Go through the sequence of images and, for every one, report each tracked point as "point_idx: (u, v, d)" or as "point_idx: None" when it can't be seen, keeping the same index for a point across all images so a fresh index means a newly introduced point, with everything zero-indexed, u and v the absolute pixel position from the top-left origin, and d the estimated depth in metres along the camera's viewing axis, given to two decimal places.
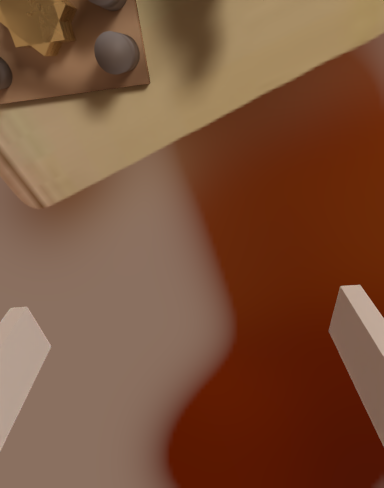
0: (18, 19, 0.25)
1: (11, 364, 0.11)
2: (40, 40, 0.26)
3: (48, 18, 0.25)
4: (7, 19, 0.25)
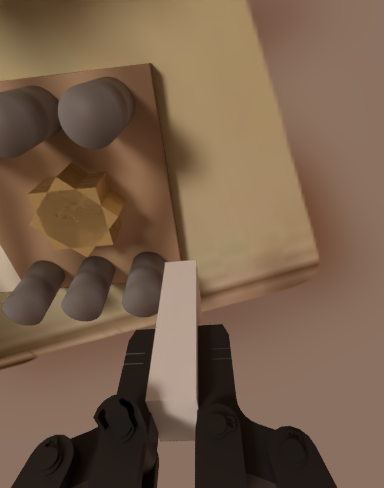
0: (84, 233, 0.22)
1: None
2: (101, 216, 0.21)
3: (76, 201, 0.20)
4: (87, 244, 0.22)
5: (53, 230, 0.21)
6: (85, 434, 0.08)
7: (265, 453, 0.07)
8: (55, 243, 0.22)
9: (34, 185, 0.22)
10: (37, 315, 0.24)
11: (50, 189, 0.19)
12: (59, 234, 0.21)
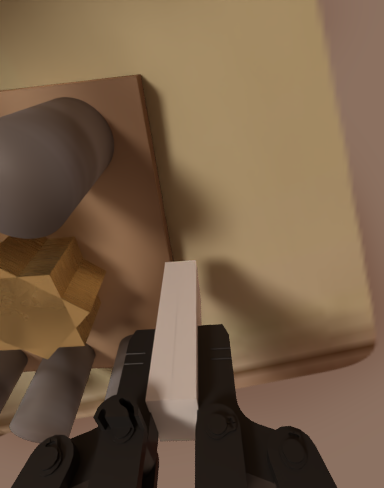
0: (39, 332, 0.14)
1: None
2: (64, 312, 0.13)
3: (20, 293, 0.13)
4: (45, 344, 0.15)
5: None
6: (85, 434, 0.08)
7: (265, 453, 0.07)
8: None
9: None
10: None
11: None
12: (1, 333, 0.14)
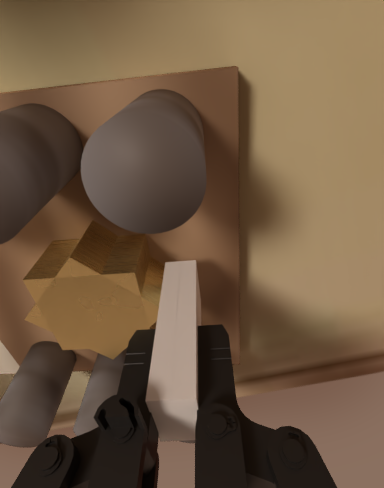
0: (111, 331, 0.14)
1: None
2: (140, 311, 0.13)
3: (100, 291, 0.12)
4: (113, 344, 0.14)
5: (63, 327, 0.14)
6: (85, 434, 0.08)
7: (265, 453, 0.07)
8: (65, 342, 0.14)
9: (35, 250, 0.15)
10: (37, 438, 0.16)
11: (59, 274, 0.12)
12: (72, 332, 0.14)
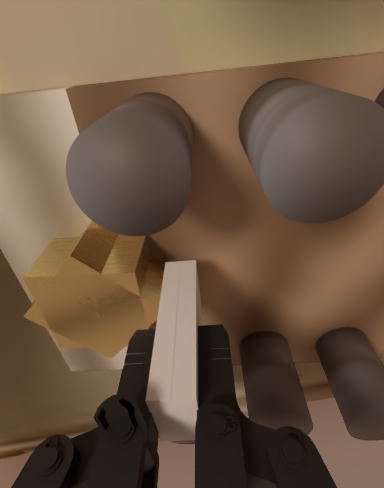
0: (109, 331, 0.14)
1: None
2: (139, 311, 0.13)
3: (100, 289, 0.12)
4: (112, 343, 0.14)
5: (61, 325, 0.14)
6: (85, 434, 0.08)
7: (265, 453, 0.07)
8: (63, 340, 0.14)
9: (219, 238, 0.14)
10: None
11: (59, 272, 0.12)
12: (70, 330, 0.14)
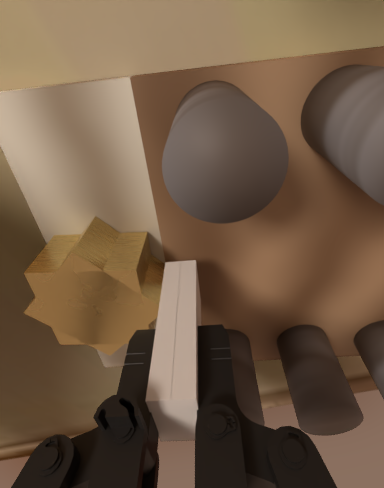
0: (109, 328, 0.14)
1: None
2: (140, 308, 0.13)
3: (101, 286, 0.12)
4: (111, 340, 0.14)
5: (61, 321, 0.14)
6: (85, 434, 0.08)
7: (265, 453, 0.07)
8: (63, 336, 0.14)
9: (269, 230, 0.14)
10: None
11: (61, 269, 0.12)
12: (70, 327, 0.14)
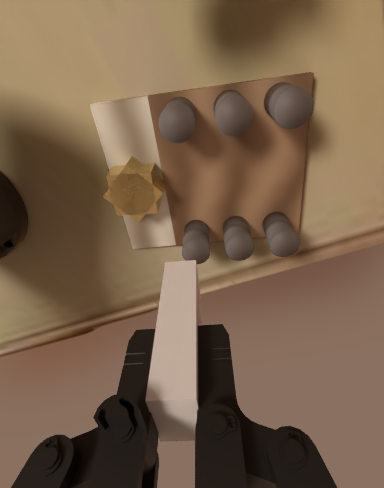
0: (139, 204, 0.32)
1: None
2: (152, 192, 0.31)
3: (136, 181, 0.30)
4: (139, 212, 0.32)
5: (118, 201, 0.31)
6: (85, 434, 0.08)
7: (265, 453, 0.07)
8: (118, 210, 0.32)
9: (208, 160, 0.32)
10: (205, 255, 0.33)
11: (121, 172, 0.30)
12: (122, 204, 0.32)
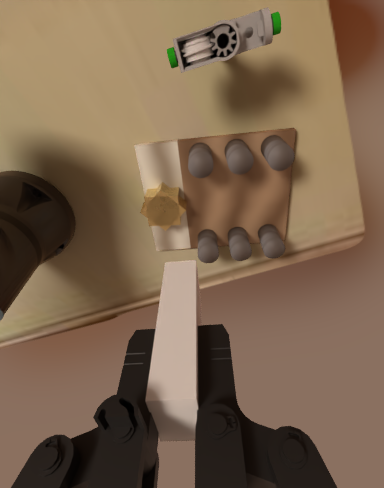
0: (167, 218, 0.42)
1: None
2: (177, 210, 0.42)
3: (166, 201, 0.41)
4: (167, 223, 0.43)
5: (151, 215, 0.42)
6: (85, 434, 0.08)
7: (265, 453, 0.07)
8: (151, 222, 0.43)
9: (219, 186, 0.43)
10: (215, 256, 0.44)
11: (155, 195, 0.40)
12: (154, 218, 0.42)
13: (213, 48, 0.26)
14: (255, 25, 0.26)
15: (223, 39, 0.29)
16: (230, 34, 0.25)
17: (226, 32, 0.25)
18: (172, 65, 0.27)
